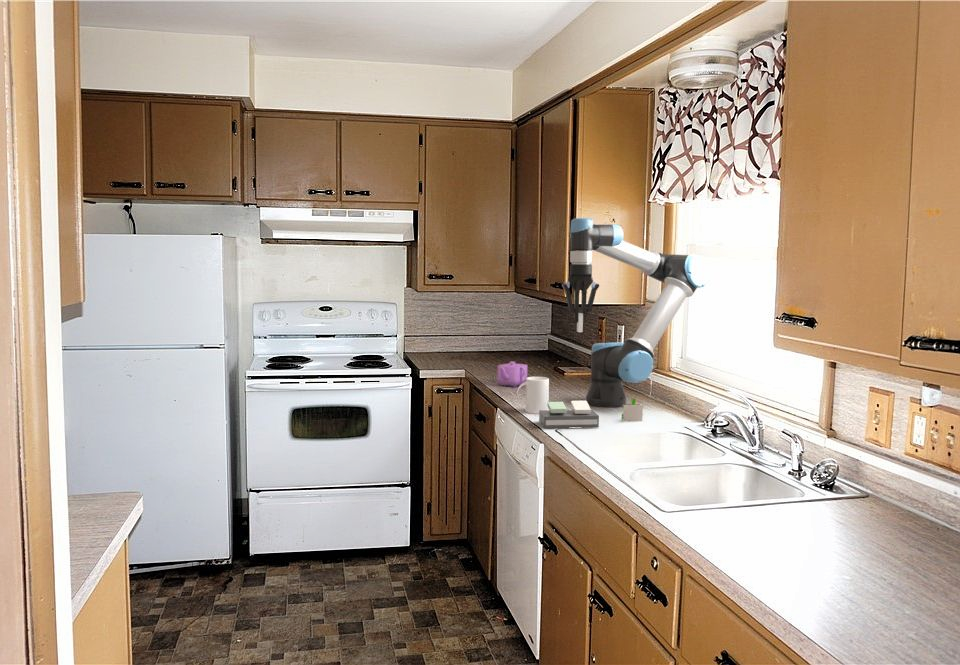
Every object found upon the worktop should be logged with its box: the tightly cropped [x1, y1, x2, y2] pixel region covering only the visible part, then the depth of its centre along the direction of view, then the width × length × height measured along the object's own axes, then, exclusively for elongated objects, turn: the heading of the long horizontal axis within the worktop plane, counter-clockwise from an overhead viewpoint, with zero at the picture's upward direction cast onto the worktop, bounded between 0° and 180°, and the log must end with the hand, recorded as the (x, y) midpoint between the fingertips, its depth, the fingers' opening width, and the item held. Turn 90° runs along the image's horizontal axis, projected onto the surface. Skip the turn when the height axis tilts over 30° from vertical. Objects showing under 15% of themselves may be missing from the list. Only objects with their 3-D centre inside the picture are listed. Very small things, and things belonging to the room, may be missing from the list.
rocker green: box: [547, 401, 568, 413], centre depth 267 cm, size 5×7×1 cm
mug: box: [516, 376, 550, 415], centre depth 289 cm, size 12×8×12 cm
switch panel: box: [538, 409, 600, 430], centre depth 268 cm, size 18×10×5 cm, turn 95°
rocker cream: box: [570, 400, 592, 414], centre depth 268 cm, size 5×7×1 cm
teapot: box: [496, 360, 528, 388], centre depth 342 cm, size 18×14×10 cm
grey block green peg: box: [621, 397, 644, 422], centre depth 276 cm, size 4×7×8 cm, turn 102°
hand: (579, 331), depth 281 cm, fingers closed
